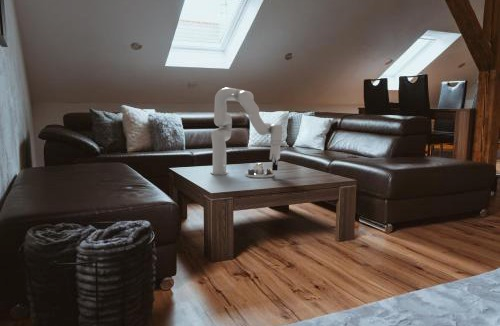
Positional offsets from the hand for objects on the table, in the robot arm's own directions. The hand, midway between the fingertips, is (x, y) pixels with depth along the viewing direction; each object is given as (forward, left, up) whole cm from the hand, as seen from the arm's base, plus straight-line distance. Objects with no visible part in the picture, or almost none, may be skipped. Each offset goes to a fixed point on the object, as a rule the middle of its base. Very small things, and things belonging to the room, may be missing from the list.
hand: (274, 170), depth 269 cm
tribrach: (-10, -8, -5) cm, 14 cm away
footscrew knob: (-2, -2, -3) cm, 4 cm away
